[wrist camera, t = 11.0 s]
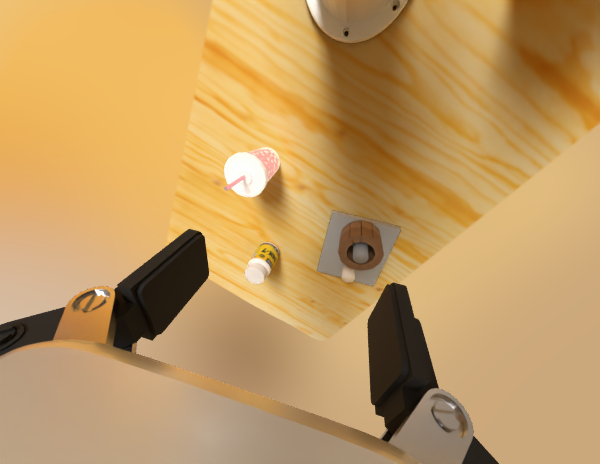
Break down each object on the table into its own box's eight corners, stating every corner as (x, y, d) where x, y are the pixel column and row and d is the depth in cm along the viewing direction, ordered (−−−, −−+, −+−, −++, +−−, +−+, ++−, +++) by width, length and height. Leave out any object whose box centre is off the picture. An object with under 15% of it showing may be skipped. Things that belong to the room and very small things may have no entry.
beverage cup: (267, 185, 39) (229, 220, 28) (243, 157, 38) (193, 182, 26) (291, 165, 36) (260, 195, 25) (267, 134, 35) (222, 150, 23)
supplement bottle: (284, 251, 46) (271, 278, 39) (272, 262, 49) (257, 289, 42) (267, 237, 45) (250, 262, 38) (255, 249, 48) (238, 274, 41)
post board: (332, 210, 39) (328, 229, 33) (400, 226, 38) (408, 250, 32) (317, 267, 46) (311, 291, 40) (373, 282, 45) (375, 310, 39)
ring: (346, 216, 38) (345, 230, 33) (386, 226, 37) (390, 241, 33) (336, 247, 41) (334, 264, 37) (372, 257, 41) (374, 275, 36)
